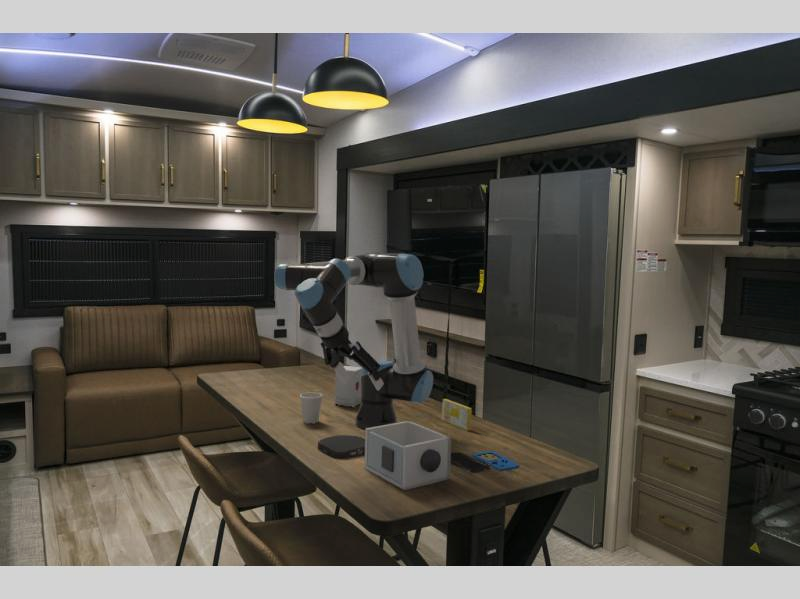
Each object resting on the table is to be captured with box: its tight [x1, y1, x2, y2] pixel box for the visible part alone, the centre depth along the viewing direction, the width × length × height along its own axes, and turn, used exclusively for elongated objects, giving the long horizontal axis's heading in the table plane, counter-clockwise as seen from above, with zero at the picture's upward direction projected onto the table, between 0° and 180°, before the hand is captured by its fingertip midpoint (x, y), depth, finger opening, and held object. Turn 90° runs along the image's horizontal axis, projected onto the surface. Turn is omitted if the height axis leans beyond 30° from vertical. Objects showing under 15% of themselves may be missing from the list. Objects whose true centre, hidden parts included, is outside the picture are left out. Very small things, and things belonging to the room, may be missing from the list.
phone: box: [450, 451, 491, 474], centre depth 193 cm, size 8×1×15 cm
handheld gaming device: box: [471, 450, 519, 472], centre depth 196 cm, size 8×1×15 cm
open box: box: [364, 420, 452, 491], centre depth 182 cm, size 16×22×12 cm
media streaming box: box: [317, 434, 365, 459], centre depth 204 cm, size 15×15×3 cm
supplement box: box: [334, 365, 362, 407], centre depth 260 cm, size 9×9×15 cm
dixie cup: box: [299, 391, 323, 424], centre depth 234 cm, size 8×8×10 cm
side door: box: [368, 431, 403, 483], centre depth 178 cm, size 2×16×10 cm, turn 36°
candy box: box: [441, 398, 473, 432], centre depth 234 cm, size 16×2×8 cm, turn 31°
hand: (363, 384), depth 185 cm, fingers open, 13 cm apart
